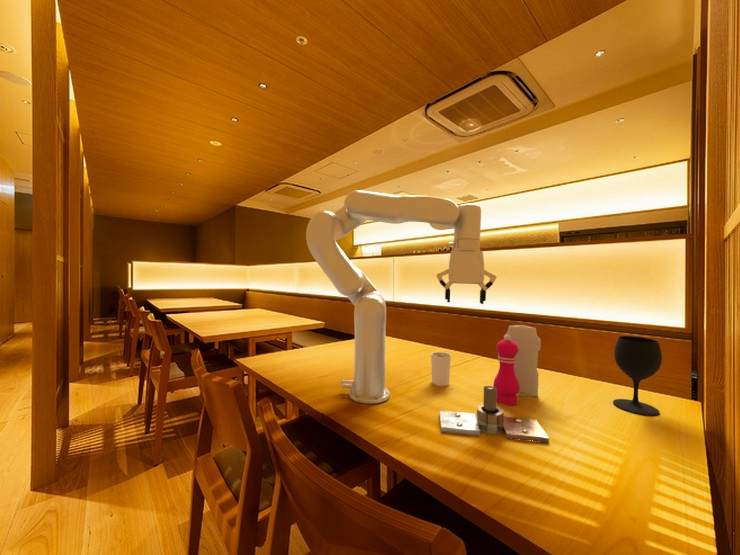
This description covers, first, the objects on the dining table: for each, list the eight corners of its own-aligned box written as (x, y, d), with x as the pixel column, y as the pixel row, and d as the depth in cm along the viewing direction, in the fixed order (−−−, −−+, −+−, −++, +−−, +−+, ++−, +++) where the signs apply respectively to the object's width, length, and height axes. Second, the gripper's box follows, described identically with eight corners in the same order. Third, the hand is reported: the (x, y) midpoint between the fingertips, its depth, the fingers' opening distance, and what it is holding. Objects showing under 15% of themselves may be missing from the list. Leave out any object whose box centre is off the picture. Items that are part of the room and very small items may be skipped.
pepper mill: (522, 407, 90) (523, 338, 89) (495, 404, 91) (497, 336, 90) (515, 397, 97) (517, 333, 96) (491, 395, 98) (492, 331, 98)
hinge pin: (484, 430, 76) (485, 389, 76) (482, 424, 79) (482, 385, 79) (497, 431, 76) (497, 390, 76) (494, 425, 79) (495, 386, 79)
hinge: (441, 431, 75) (441, 413, 75) (439, 414, 84) (440, 398, 84) (548, 443, 71) (549, 423, 71) (535, 423, 80) (535, 406, 80)
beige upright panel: (539, 394, 99) (541, 325, 98) (539, 399, 95) (541, 327, 95) (503, 388, 104) (504, 322, 103) (501, 392, 100) (503, 324, 100)
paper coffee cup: (452, 382, 109) (453, 353, 109) (446, 388, 103) (447, 358, 103) (434, 378, 113) (435, 350, 112) (427, 384, 107) (428, 355, 107)
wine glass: (651, 404, 93) (653, 337, 92) (666, 419, 83) (669, 345, 83) (608, 397, 97) (610, 334, 97) (618, 411, 88) (620, 340, 87)
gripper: (437, 245, 92) (435, 302, 93) (499, 245, 88) (497, 305, 89) (437, 246, 99) (435, 300, 100) (495, 247, 96) (493, 302, 96)
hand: (464, 302), depth 94 cm, fingers open, 9 cm apart
